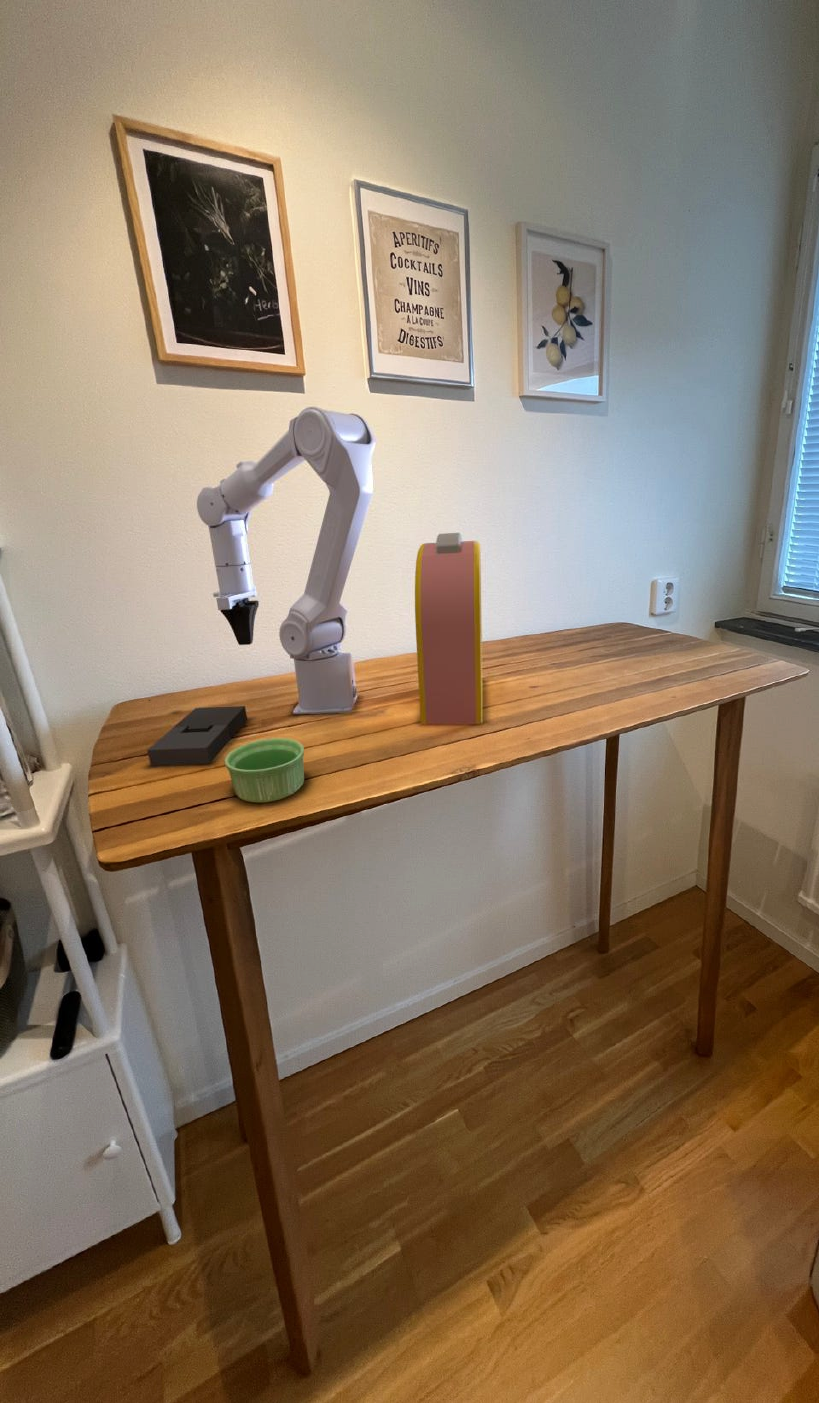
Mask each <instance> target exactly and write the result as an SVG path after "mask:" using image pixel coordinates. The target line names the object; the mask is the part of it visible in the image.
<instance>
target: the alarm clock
mask: <svg viewBox="0 0 819 1403" xmlns="http://www.w3.org/2000/svg"><path fill="white" fill-rule="evenodd" d="M481 562H482V561H481V543H480V542H478V541H477V540H466V541H465V540H464V541H463V537H462V534H461V533H460V532H447V533H439V534H438V535H437V536H436V541H435V542H426V543H422V544H421V545H419V547H418V551H417V554H416V560H415V572H414V573H415V574H414V617H415V618H414V619H415V621H414V622H415V641H416V660H417V662H416V663H417V677H418V695H419V696H418V697H419V698H418V699H419V715H420V724H422V725H479V724H483V640H482V639H483V638H482V637H483V636H482V633H483V632H482V630H483V629H482V567H481V566H482V564H481Z"/></svg>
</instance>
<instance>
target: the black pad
mask: <svg viewBox="0 0 819 1403" xmlns="http://www.w3.org/2000/svg"><path fill="white" fill-rule="evenodd" d="M247 721H248V715H247V709H246V706H245V705H237V706H235V705H234V706H213V707H211V706H210V707H195V708H193V710H191V712H189V713H188V714H187V715H186V716H184V718H182V719H181V720H180V721H178V723H176V724H175V725H174V726H173V727H187V729H188V733H191V732H208V731H209V730H210V729H211V728H212V727H213V726H214V725H228V729H229V735H230V740H231V739H233V737H234V736H235V735H236V733H237V732H238V731H239V730H240V729H241V727H243V726H244V724H245V723H246V722H247Z"/></svg>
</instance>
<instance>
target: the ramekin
mask: <svg viewBox="0 0 819 1403" xmlns="http://www.w3.org/2000/svg"><path fill="white" fill-rule="evenodd" d="M304 756H305V748H304V745H303V744H302V743H301V742H299V741H298V740H295V739H292V738H285V737H274V738H273V737H272V738H264V739H263V738H262V739H259V740H254V741H251V742H248V743H245V744H242V745H240V746H237V747H236V748H235V749H233V750H231V751H230V752H228V754H227V755H226V756H225V759H224V765H225V767H226V769H227V770H228V773H229V776H230V779H231V780H230V781H231V783H232V786H233V791H234V793H235V794H236V796H237V797H238V798H239V799H241V800H243V801H244V802H245V801H246V802H250V803H270V802H274V801H280V800H282V799H285V798H288V797H290V796H292V795H293V794H295V793H296V792H297V791H299V790H300V789H301V788H302V786H303V785H304V783H305V766H304Z"/></svg>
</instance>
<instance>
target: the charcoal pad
mask: <svg viewBox="0 0 819 1403" xmlns="http://www.w3.org/2000/svg"><path fill="white" fill-rule="evenodd" d="M230 741H231V739H230V735H229V729H228V725H214V726H213V727H212V728H211V729H210V730H209V731H208V732H191V733H188V729H187V727H174V726H172V728H171V729H170V730H168V731H167V732H166V733H165V734H164V735H163V736H162V737H160V738H159V739H158V740H157V741H156V742H154V743H153V744H152V745H151V746H150V747H149V748H148V749H146V750H147V755H148V759H149V764H150V767H163V766H165V767H166V766H168V767H169V766H189V765H190V766H192V765H193V766H194V765H210V764H211V763H212V762H213V761H214V760H215V758H216V757H217V756H219V754H220V753H221V751H222V750H223V749H224V748H225V747H226V746H227V744H229V742H230Z"/></svg>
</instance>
